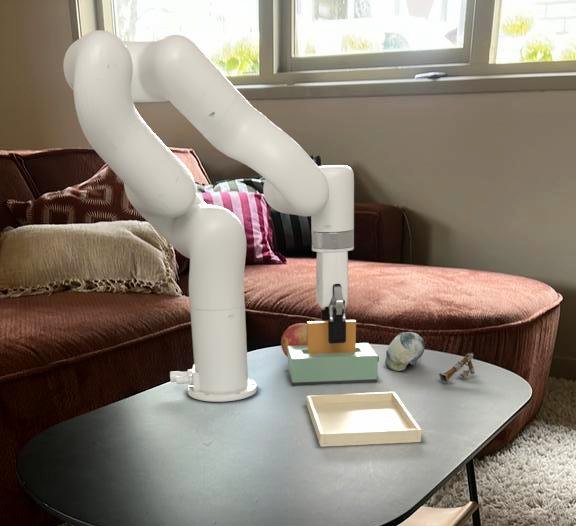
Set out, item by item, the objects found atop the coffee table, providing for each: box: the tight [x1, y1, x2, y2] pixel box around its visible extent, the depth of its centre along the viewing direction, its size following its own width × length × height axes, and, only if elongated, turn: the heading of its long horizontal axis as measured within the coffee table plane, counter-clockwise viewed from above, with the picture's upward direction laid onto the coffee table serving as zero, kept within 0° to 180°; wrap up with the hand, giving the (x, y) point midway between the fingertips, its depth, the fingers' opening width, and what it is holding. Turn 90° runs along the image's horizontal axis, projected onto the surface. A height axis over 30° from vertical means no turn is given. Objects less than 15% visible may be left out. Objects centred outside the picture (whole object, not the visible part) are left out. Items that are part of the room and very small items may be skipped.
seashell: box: [385, 331, 426, 372], centre depth 153 cm, size 6×8×12 cm
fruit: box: [280, 322, 307, 358], centre depth 154 cm, size 8×8×8 cm
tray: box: [306, 391, 423, 448], centre depth 122 cm, size 15×19×2 cm
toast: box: [306, 319, 357, 354], centre depth 145 cm, size 9×2×10 cm, turn 95°
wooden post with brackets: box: [438, 352, 475, 385], centre depth 143 cm, size 2×8×4 cm, turn 123°
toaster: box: [287, 342, 380, 386], centre depth 146 cm, size 17×10×5 cm, turn 95°
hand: (333, 336), depth 144 cm, fingers open, 9 cm apart
